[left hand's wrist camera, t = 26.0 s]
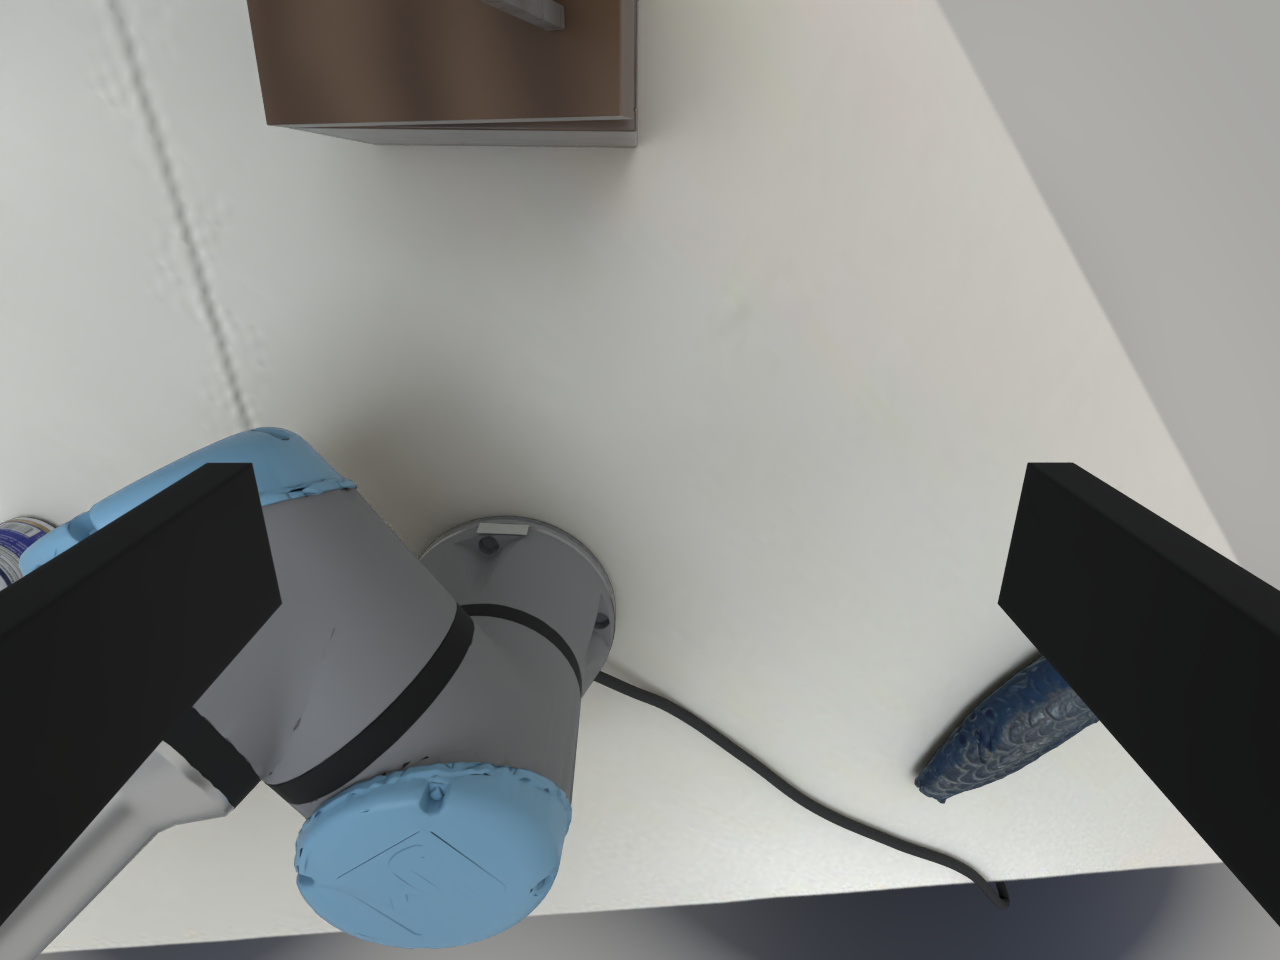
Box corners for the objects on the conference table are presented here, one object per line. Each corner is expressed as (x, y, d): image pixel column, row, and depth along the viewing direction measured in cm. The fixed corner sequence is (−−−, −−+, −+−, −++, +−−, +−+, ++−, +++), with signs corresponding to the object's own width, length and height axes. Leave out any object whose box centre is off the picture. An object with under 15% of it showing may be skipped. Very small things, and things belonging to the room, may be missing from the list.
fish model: (1159, 631, 53) (1208, 673, 49) (952, 802, 60) (978, 854, 55) (1099, 583, 52) (1143, 622, 47) (894, 764, 58) (915, 814, 54)
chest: (639, -100, 37) (638, -214, 27) (637, 147, 41) (636, 131, 31) (346, -104, 37) (232, -219, 27) (374, 144, 41) (286, 128, 31)
